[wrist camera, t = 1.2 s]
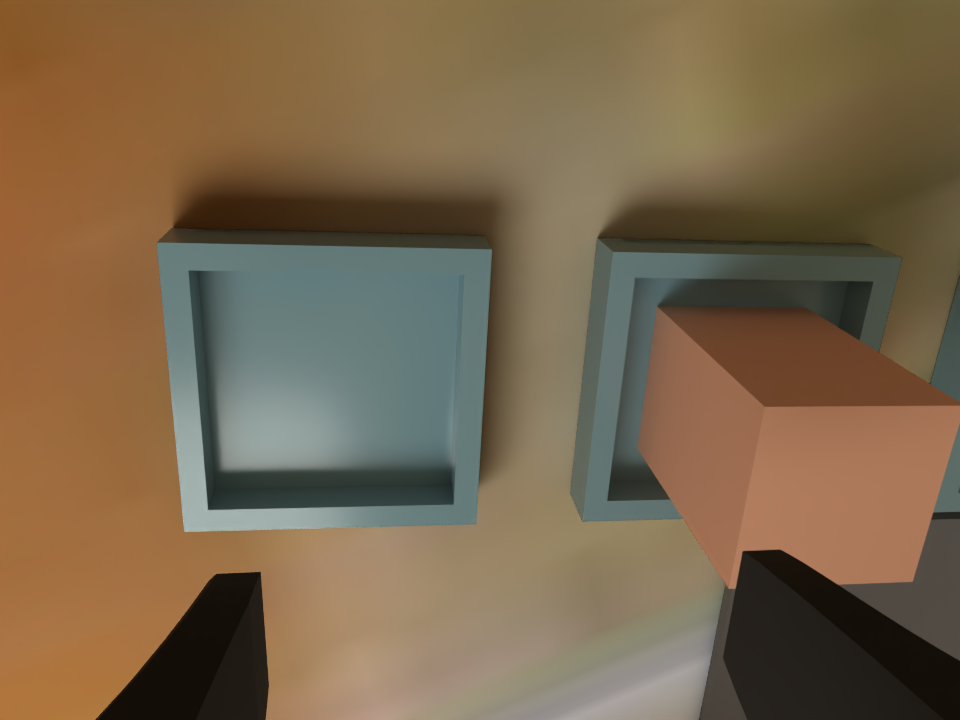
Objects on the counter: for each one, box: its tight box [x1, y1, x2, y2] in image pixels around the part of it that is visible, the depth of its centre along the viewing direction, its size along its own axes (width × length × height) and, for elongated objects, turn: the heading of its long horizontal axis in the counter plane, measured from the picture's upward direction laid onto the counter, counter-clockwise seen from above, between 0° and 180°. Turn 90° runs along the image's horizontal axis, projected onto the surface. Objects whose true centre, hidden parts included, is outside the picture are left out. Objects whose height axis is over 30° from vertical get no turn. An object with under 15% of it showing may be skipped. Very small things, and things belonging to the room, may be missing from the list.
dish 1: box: [157, 228, 492, 532], centre depth 20 cm, size 7×7×1 cm
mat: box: [699, 512, 960, 720], centre depth 25 cm, size 9×9×1 cm
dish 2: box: [570, 238, 902, 522], centre depth 21 cm, size 7×7×1 cm
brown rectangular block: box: [637, 306, 960, 589], centre depth 18 cm, size 4×4×6 cm
